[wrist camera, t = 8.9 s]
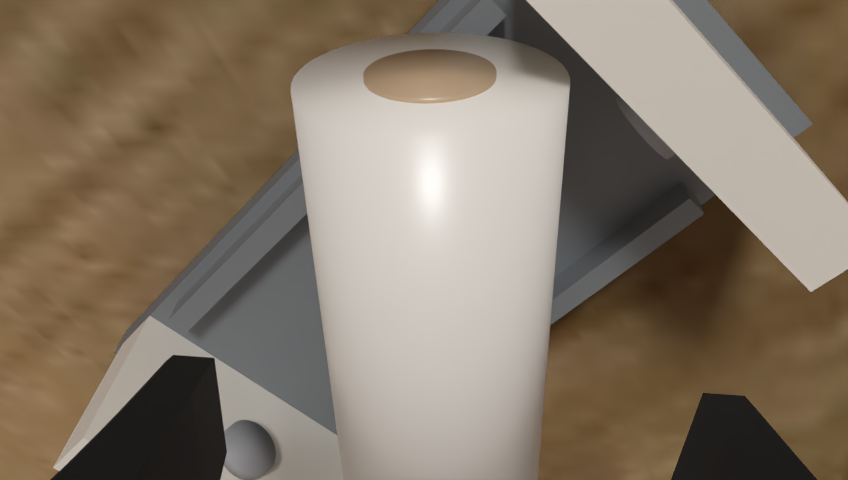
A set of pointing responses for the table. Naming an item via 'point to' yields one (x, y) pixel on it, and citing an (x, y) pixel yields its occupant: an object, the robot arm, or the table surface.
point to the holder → (578, 219)
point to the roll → (434, 247)
